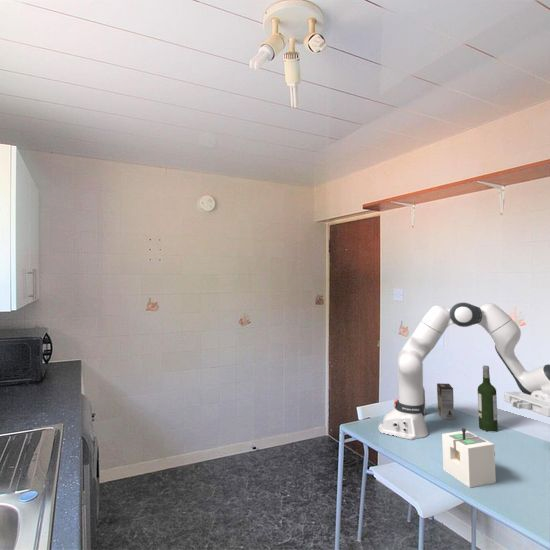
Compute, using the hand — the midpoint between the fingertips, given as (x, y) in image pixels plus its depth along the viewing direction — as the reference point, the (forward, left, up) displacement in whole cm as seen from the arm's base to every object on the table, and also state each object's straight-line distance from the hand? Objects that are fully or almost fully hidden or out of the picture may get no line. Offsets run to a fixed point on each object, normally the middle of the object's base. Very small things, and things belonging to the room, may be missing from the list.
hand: (515, 405), depth 140 cm
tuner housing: (-17, -14, -23) cm, 32 cm away
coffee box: (-24, +49, -24) cm, 60 cm away
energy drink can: (-37, +47, -24) cm, 65 cm away
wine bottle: (-6, +37, -24) cm, 45 cm away
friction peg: (-15, -12, -18) cm, 27 cm away
